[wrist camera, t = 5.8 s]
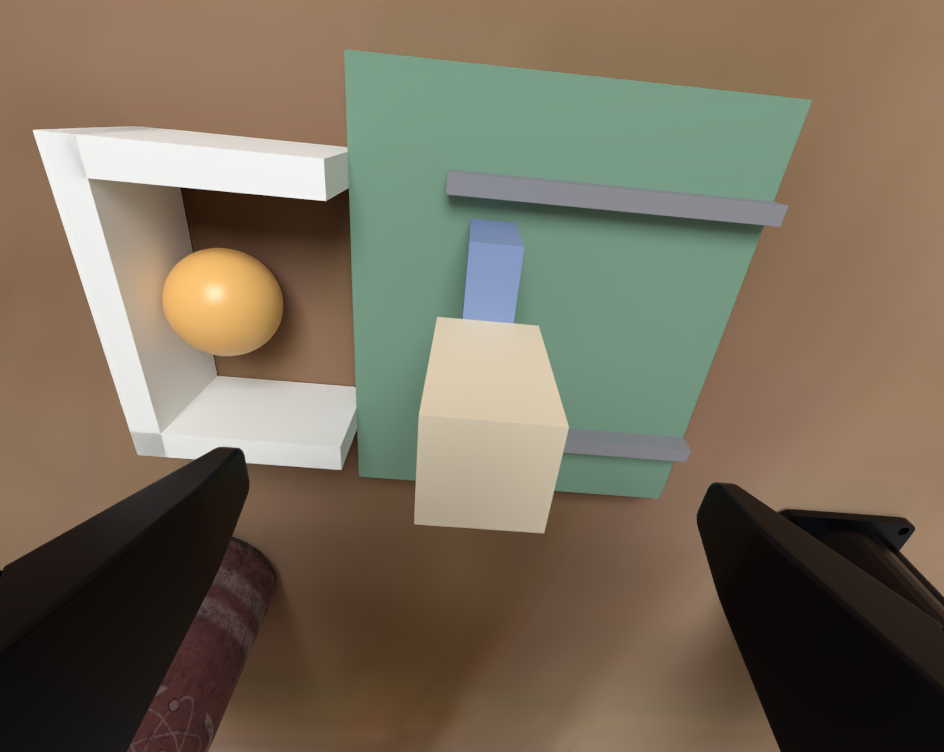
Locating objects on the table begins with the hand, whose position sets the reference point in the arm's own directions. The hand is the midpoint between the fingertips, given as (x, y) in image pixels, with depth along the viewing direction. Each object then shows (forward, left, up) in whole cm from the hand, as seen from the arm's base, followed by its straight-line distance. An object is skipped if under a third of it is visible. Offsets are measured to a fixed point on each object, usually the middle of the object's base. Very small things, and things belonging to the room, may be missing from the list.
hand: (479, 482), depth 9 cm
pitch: (-2, 0, -10) cm, 10 cm away
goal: (+8, 0, -10) cm, 13 cm away
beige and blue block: (0, 0, -8) cm, 8 cm away
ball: (+8, 0, -8) cm, 12 cm away
